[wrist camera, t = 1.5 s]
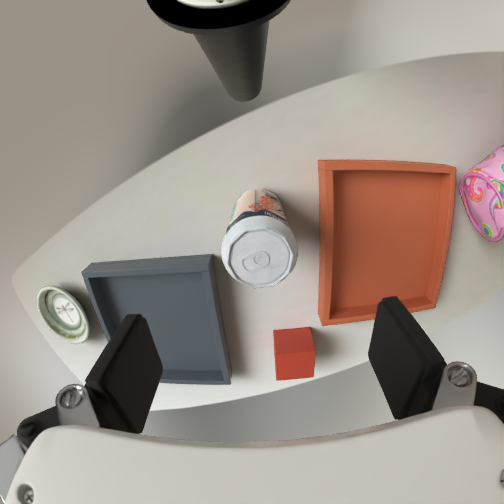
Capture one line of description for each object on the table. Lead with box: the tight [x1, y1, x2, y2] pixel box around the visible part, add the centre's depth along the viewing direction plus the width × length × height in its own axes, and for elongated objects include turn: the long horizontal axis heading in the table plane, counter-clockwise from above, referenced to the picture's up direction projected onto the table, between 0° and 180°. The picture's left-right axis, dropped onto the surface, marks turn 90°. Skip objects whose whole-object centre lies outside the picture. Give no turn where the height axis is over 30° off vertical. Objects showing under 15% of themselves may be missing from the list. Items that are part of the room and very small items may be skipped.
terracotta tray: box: [318, 160, 456, 326], centre depth 27 cm, size 18×16×3 cm
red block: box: [273, 327, 316, 381], centre depth 32 cm, size 4×4×4 cm
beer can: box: [221, 188, 298, 289], centre depth 22 cm, size 5×5×12 cm
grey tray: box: [82, 254, 232, 385], centre depth 32 cm, size 18×16×3 cm
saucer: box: [37, 286, 90, 344], centre depth 32 cm, size 10×10×2 cm
